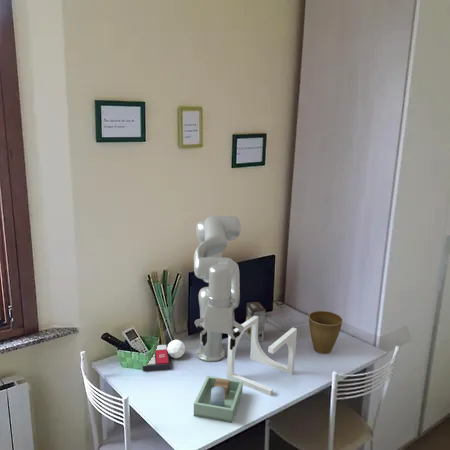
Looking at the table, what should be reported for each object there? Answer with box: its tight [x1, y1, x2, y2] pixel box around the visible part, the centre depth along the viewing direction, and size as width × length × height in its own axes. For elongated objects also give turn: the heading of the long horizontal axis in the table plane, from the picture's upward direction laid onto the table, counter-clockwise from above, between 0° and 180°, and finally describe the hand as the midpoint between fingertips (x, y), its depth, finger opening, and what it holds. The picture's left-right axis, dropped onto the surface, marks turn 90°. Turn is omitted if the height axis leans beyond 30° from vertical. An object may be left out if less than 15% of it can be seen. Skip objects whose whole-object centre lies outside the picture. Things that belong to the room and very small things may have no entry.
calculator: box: [142, 344, 171, 372], centre depth 200 cm, size 11×4×15 cm
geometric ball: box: [167, 339, 186, 359], centre depth 203 cm, size 8×8×8 cm
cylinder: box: [210, 386, 225, 407], centre depth 168 cm, size 5×5×7 cm
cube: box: [214, 377, 230, 399], centre depth 176 cm, size 5×5×5 cm
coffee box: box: [244, 301, 267, 342], centre depth 221 cm, size 9×6×16 cm
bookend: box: [226, 315, 298, 397], centre depth 190 cm, size 20×20×20 cm
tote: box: [193, 375, 244, 424], centre depth 172 cm, size 18×14×5 cm
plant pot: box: [308, 310, 344, 355], centre depth 211 cm, size 15×15×16 cm
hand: (218, 345), depth 163 cm, fingers open, 9 cm apart
